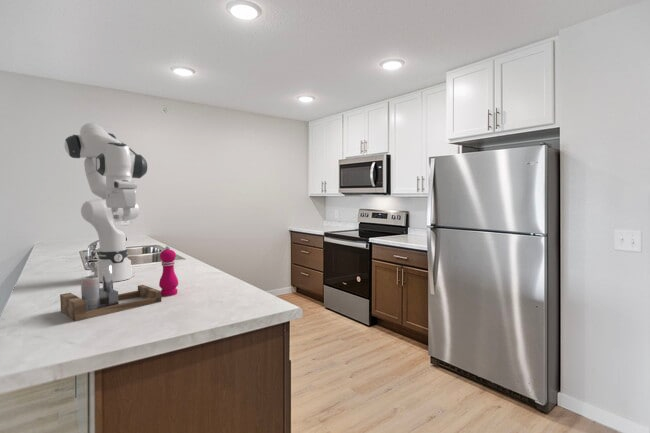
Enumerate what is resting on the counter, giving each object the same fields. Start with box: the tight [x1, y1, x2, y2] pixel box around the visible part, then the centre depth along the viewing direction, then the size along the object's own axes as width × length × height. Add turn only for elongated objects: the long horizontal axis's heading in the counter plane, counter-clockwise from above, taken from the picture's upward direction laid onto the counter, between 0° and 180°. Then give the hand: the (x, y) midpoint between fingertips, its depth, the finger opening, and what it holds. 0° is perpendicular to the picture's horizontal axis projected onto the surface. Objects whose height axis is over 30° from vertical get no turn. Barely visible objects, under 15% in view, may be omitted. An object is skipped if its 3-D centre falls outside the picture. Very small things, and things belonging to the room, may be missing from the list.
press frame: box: [59, 284, 162, 322], centre depth 131 cm, size 16×28×6 cm, turn 140°
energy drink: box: [80, 275, 101, 311], centre depth 126 cm, size 5×5×12 cm
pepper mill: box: [158, 245, 179, 297], centre depth 147 cm, size 7×7×20 cm
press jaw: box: [100, 265, 120, 308], centre depth 130 cm, size 10×3×15 cm, turn 50°
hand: (120, 219), depth 141 cm, fingers open, 8 cm apart
